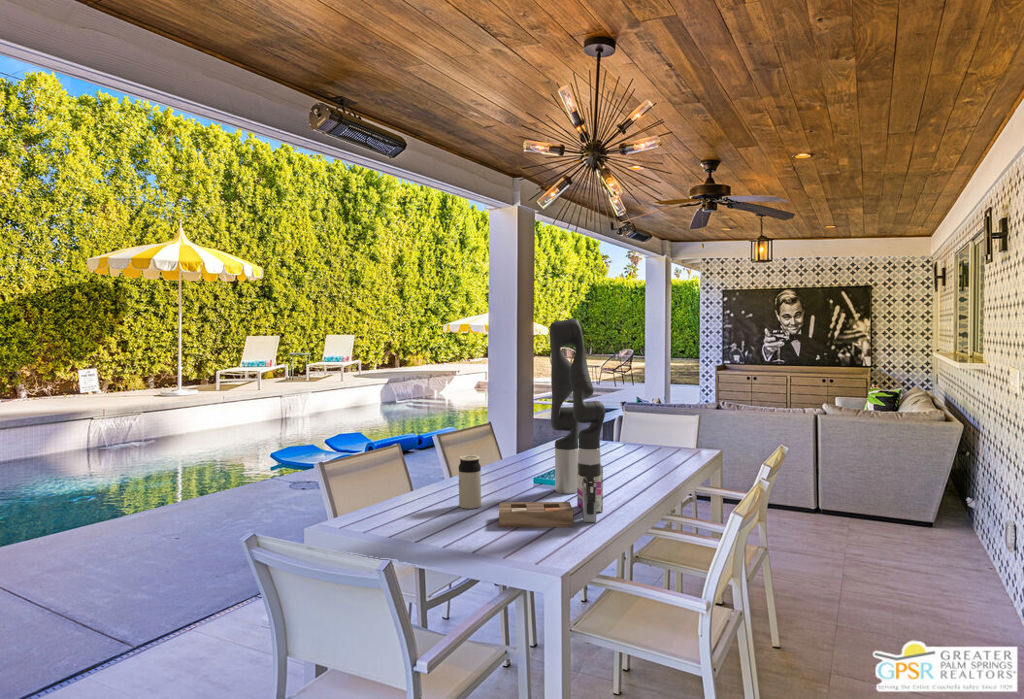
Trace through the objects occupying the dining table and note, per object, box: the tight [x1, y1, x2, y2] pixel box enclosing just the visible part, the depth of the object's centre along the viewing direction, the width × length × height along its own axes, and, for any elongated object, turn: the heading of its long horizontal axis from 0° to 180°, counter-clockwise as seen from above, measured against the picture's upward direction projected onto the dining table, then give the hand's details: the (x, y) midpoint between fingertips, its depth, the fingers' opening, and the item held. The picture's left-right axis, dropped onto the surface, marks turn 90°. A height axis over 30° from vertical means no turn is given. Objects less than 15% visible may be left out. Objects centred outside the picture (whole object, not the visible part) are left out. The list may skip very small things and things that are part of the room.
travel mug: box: [458, 454, 482, 510], centre depth 239 cm, size 8×8×18 cm
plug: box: [582, 489, 597, 523], centre depth 219 cm, size 4×4×10 cm
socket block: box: [498, 501, 574, 528], centre depth 219 cm, size 12×24×5 cm, turn 90°
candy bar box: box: [576, 462, 604, 514], centre depth 234 cm, size 11×5×16 cm, turn 21°
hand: (589, 512), depth 219 cm, fingers closed on plug, 4 cm apart
